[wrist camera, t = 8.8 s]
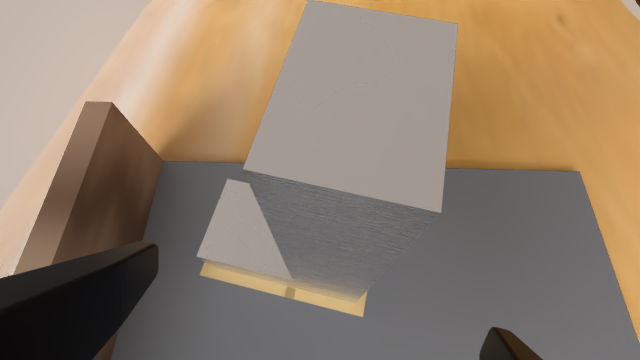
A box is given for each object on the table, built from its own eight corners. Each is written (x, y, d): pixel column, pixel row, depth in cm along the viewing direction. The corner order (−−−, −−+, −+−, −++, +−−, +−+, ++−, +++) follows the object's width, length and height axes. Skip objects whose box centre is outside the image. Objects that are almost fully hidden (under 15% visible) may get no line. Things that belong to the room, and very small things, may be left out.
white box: (368, 228, 18) (458, 23, 6) (354, 303, 16) (440, 212, 5) (238, 197, 19) (107, -34, 7) (212, 267, 17) (-14, 112, 6)
